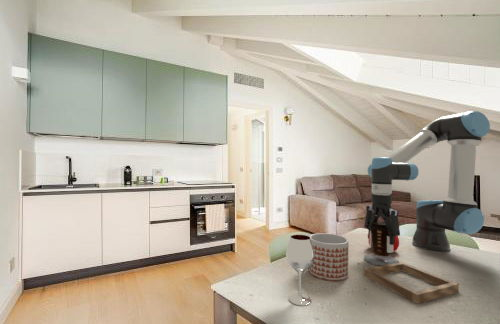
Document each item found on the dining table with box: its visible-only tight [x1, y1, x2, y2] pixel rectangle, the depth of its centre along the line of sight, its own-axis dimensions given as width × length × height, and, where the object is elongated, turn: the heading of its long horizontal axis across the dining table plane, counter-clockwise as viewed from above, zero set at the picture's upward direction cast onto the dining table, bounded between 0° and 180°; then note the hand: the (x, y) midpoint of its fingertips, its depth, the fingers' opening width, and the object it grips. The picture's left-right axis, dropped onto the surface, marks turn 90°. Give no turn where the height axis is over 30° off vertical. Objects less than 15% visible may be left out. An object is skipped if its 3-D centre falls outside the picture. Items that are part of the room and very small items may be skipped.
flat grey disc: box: [363, 253, 400, 266], centre depth 102 cm, size 13×13×1 cm
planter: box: [308, 232, 349, 282], centre depth 90 cm, size 14×14×13 cm
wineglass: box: [285, 234, 315, 307], centre depth 71 cm, size 8×8×18 cm
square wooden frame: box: [363, 261, 460, 304], centre depth 82 cm, size 19×19×2 cm
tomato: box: [367, 230, 400, 253], centre depth 116 cm, size 13×13×13 cm
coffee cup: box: [370, 220, 390, 257], centre depth 102 cm, size 9×8×13 cm
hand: (381, 248), depth 102 cm, fingers closed on coffee cup, 8 cm apart
